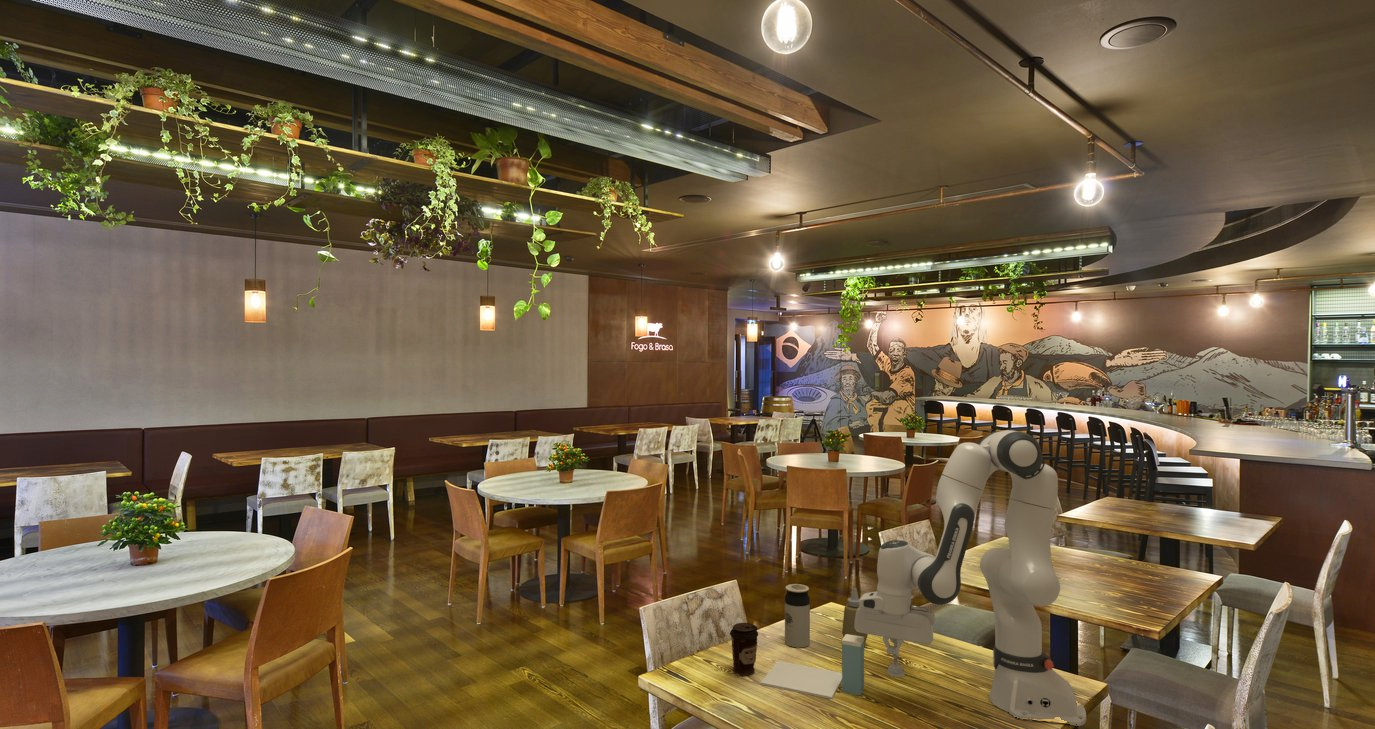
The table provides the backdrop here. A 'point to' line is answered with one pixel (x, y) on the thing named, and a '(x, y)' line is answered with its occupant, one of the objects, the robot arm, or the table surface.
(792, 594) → the travel mug
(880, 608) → the robot arm
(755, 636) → the coffee cup
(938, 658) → the table surface
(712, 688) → the table surface
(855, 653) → the long block
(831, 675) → the mat
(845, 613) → the squeeze bottle
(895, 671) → the chalice
